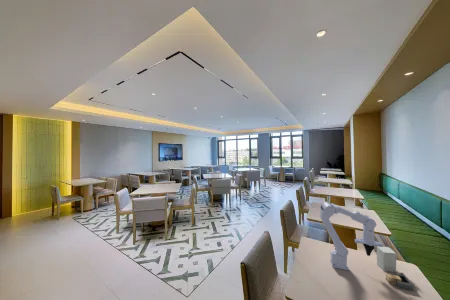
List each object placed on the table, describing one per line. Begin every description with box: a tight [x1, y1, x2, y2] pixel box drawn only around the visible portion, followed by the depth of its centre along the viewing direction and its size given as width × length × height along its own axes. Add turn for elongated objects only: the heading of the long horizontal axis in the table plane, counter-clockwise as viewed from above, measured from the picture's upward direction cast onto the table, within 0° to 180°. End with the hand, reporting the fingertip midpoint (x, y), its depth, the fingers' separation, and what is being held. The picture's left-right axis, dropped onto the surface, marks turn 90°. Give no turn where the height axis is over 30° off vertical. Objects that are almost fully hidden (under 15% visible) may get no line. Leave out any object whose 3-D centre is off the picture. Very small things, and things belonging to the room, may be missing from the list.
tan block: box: [385, 272, 402, 286], centre depth 106 cm, size 6×3×4 cm, turn 70°
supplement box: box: [376, 246, 397, 273], centre depth 118 cm, size 7×7×13 cm
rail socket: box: [389, 272, 415, 292], centre depth 106 cm, size 7×10×3 cm
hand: (368, 254), depth 117 cm, fingers closed
